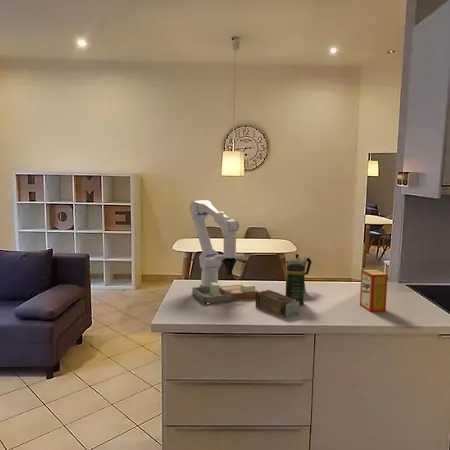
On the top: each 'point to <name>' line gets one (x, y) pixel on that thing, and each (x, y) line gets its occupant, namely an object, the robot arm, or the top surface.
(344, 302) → the top surface
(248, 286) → the tile
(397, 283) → the top surface
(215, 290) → the tile
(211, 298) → the tray
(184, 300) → the top surface
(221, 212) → the robot arm
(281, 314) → the beverage carton
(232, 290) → the walnut board
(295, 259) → the coffeepot
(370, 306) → the baking soda box
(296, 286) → the coffee jar
